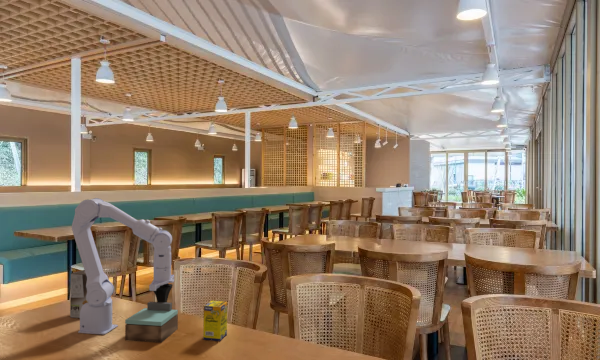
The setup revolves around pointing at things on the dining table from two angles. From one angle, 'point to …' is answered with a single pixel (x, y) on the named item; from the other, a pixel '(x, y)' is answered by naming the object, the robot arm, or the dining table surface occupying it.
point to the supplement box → (215, 321)
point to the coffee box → (78, 293)
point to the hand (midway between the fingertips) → (162, 306)
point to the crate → (151, 331)
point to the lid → (153, 314)
